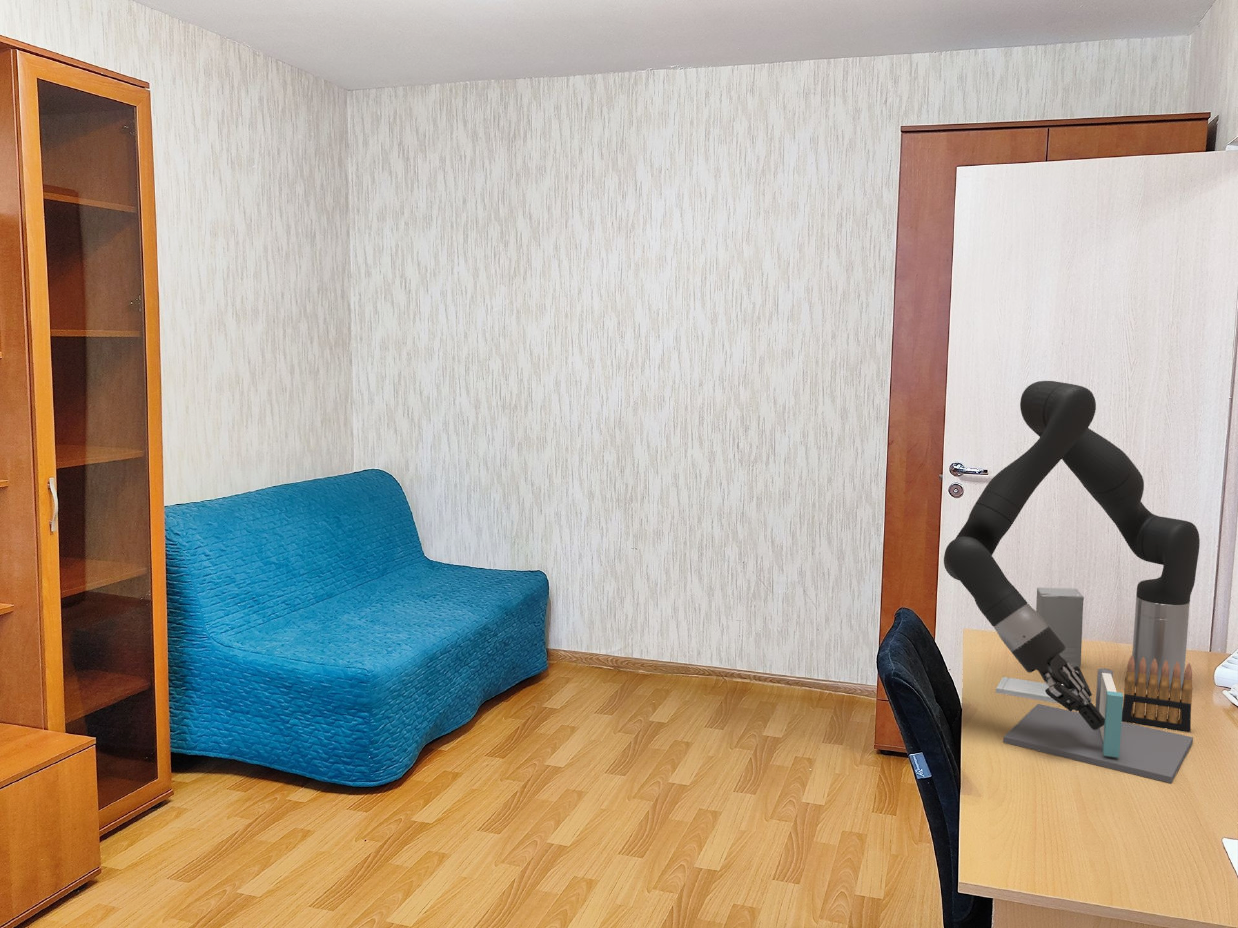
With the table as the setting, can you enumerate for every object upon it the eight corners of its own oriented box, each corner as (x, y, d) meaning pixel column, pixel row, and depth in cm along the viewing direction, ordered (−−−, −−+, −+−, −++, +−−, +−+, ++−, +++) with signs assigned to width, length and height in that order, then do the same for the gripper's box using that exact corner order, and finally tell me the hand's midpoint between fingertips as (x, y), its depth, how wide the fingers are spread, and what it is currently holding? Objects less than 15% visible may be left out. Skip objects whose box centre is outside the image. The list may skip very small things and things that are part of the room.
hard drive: (1071, 686, 192) (1003, 675, 199) (1066, 699, 185) (996, 687, 191) (1070, 694, 193) (1002, 683, 199) (1065, 707, 186) (995, 695, 192)
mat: (1037, 708, 183) (1037, 703, 183) (1192, 742, 168) (1193, 737, 168) (1003, 742, 167) (1003, 736, 167) (1171, 783, 152) (1171, 776, 152)
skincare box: (1074, 660, 212) (1078, 587, 210) (1081, 670, 205) (1086, 595, 203) (1031, 657, 214) (1035, 584, 212) (1037, 667, 207) (1042, 592, 205)
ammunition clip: (1189, 728, 174) (1195, 662, 173) (1190, 732, 172) (1195, 665, 171) (1121, 718, 179) (1126, 653, 178) (1121, 721, 177) (1125, 656, 176)
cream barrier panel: (1093, 717, 175) (1097, 662, 174) (1109, 719, 174) (1112, 663, 173) (1103, 755, 159) (1107, 694, 157) (1119, 757, 158) (1124, 696, 157)
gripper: (1034, 633, 161) (1109, 726, 155) (1057, 617, 171) (1129, 704, 165) (998, 658, 165) (1070, 749, 159) (1023, 641, 175) (1092, 726, 169)
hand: (1100, 726), depth 162 cm, fingers closed
